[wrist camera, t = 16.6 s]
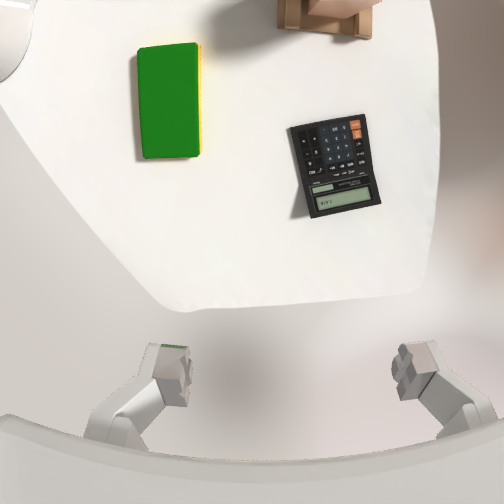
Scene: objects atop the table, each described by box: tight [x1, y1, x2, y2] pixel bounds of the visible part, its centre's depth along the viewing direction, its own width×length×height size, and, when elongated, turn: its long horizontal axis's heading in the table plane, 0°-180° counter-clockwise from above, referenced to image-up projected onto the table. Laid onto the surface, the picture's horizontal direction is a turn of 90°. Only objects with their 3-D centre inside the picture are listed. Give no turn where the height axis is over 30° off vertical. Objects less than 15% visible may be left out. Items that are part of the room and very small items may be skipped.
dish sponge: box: [137, 42, 202, 159], centre depth 34 cm, size 7×14×2 cm, turn 179°
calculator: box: [290, 114, 381, 219], centre depth 38 cm, size 9×12×3 cm
